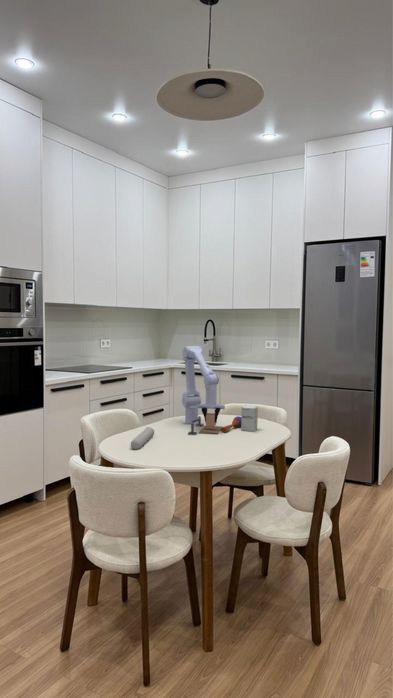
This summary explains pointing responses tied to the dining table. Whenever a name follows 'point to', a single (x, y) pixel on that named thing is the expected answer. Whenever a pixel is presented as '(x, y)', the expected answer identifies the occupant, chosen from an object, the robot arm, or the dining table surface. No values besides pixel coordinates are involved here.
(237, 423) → the kendama
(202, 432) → the walnut board
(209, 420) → the block
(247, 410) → the supplement box
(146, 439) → the tube
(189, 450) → the dining table surface
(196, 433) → the grey door handle
